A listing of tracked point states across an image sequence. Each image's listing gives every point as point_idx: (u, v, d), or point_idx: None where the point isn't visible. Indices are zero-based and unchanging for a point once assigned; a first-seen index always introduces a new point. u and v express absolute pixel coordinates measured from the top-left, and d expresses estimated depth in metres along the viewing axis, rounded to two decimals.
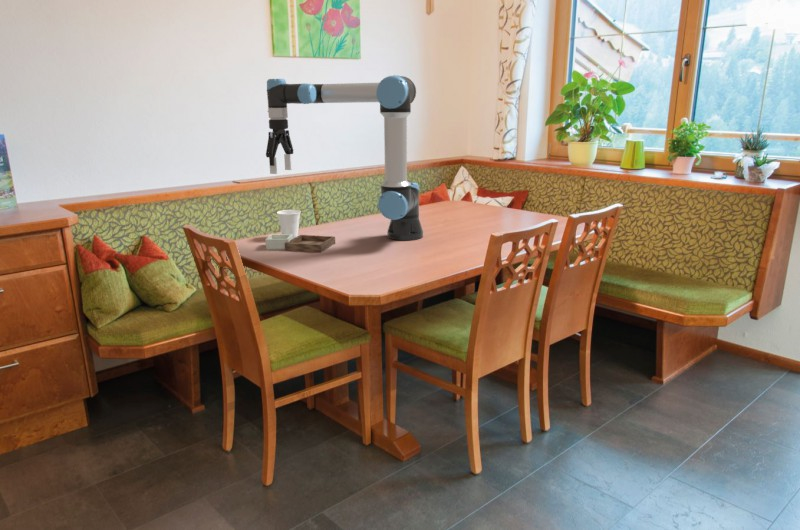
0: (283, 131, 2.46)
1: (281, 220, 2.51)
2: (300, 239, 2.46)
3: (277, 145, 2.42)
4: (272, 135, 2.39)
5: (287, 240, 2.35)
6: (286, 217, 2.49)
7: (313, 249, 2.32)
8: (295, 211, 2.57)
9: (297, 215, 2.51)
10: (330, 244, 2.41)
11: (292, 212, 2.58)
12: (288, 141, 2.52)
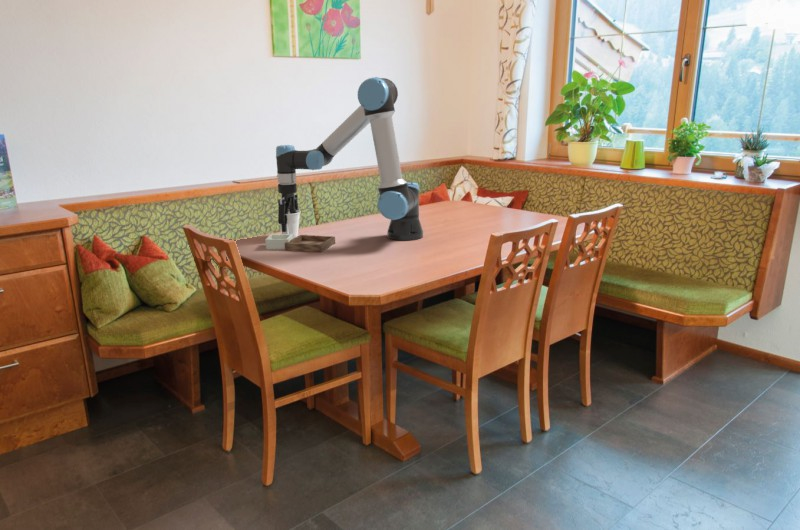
0: (292, 194, 2.53)
1: None
2: (300, 239, 2.46)
3: (287, 210, 2.50)
4: (282, 203, 2.46)
5: (287, 240, 2.35)
6: None
7: (313, 249, 2.32)
8: None
9: (297, 215, 2.51)
10: (330, 244, 2.41)
11: None
12: (295, 205, 2.58)
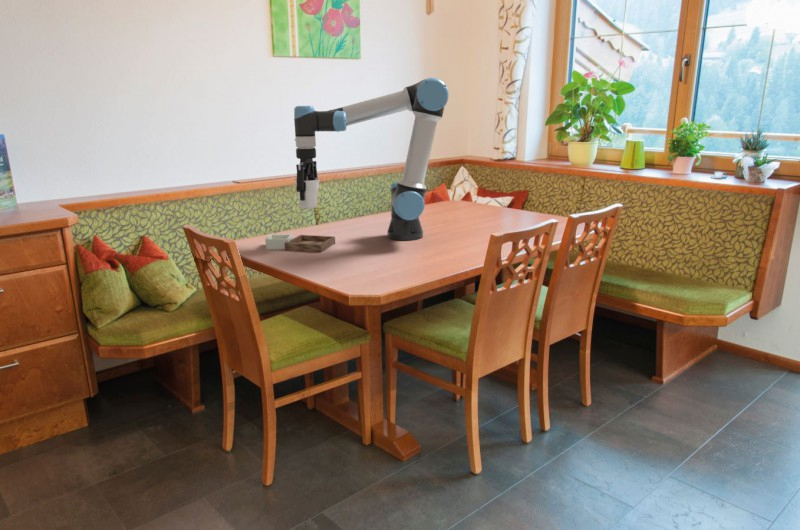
0: (311, 159, 2.33)
1: None
2: (300, 239, 2.46)
3: (306, 177, 2.30)
4: (300, 168, 2.26)
5: (287, 240, 2.35)
6: None
7: (313, 249, 2.32)
8: None
9: (316, 182, 2.31)
10: (330, 244, 2.41)
11: None
12: (314, 173, 2.38)
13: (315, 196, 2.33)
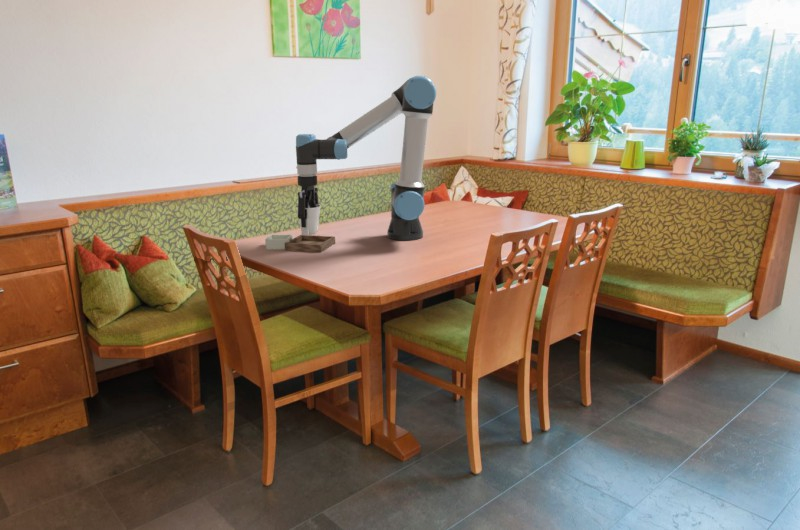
0: (312, 186, 2.36)
1: None
2: (300, 239, 2.46)
3: (308, 204, 2.32)
4: (302, 196, 2.28)
5: (287, 240, 2.35)
6: None
7: (313, 249, 2.32)
8: None
9: (317, 209, 2.34)
10: (330, 244, 2.41)
11: None
12: (315, 199, 2.41)
13: (316, 223, 2.36)
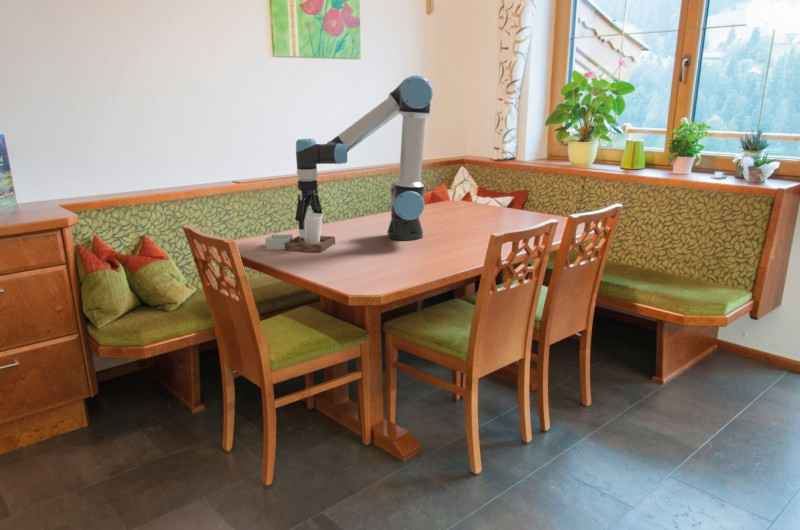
0: (312, 192, 2.36)
1: None
2: (300, 239, 2.46)
3: (307, 207, 2.32)
4: (302, 198, 2.28)
5: (287, 240, 2.35)
6: (308, 222, 2.35)
7: (313, 249, 2.32)
8: (316, 214, 2.43)
9: (320, 220, 2.37)
10: (330, 244, 2.41)
11: (313, 215, 2.43)
12: (317, 201, 2.42)
13: (318, 232, 2.39)
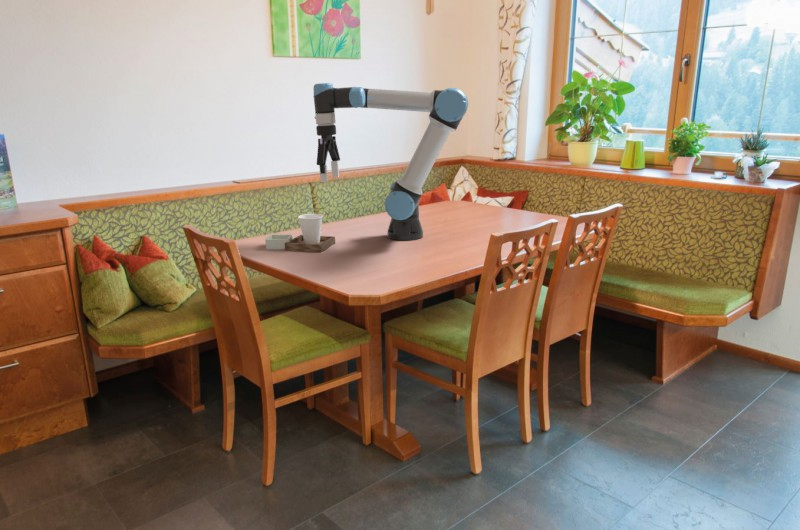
0: (331, 137, 2.37)
1: (303, 225, 2.37)
2: (300, 239, 2.46)
3: (327, 152, 2.33)
4: (322, 142, 2.30)
5: (287, 240, 2.35)
6: (308, 221, 2.35)
7: (313, 249, 2.32)
8: (316, 215, 2.44)
9: (320, 219, 2.38)
10: (330, 244, 2.41)
11: (313, 216, 2.44)
12: (335, 147, 2.43)
13: (319, 232, 2.40)
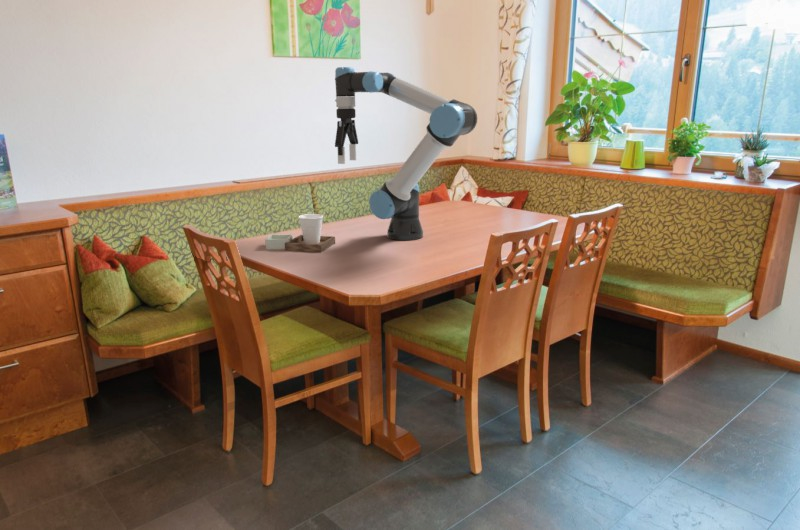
0: (350, 120, 2.43)
1: (303, 225, 2.37)
2: (300, 239, 2.46)
3: (345, 134, 2.39)
4: (341, 124, 2.35)
5: (287, 240, 2.35)
6: (309, 221, 2.36)
7: (313, 249, 2.32)
8: (317, 215, 2.44)
9: (320, 219, 2.38)
10: (330, 244, 2.41)
11: (313, 216, 2.44)
12: (353, 131, 2.49)
13: (319, 232, 2.40)
